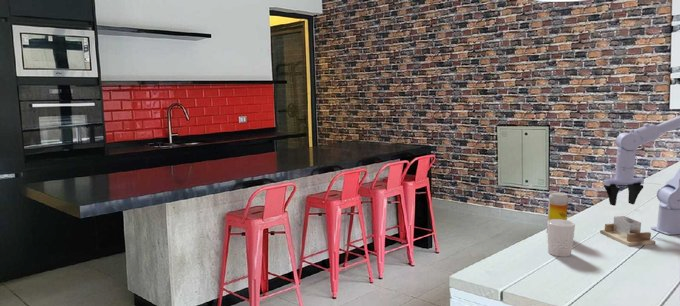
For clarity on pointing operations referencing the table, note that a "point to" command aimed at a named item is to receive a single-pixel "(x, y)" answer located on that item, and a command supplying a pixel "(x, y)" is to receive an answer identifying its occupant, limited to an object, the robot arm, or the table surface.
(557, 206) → the beer can
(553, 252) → the white cup
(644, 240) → the birch cradle
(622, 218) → the aluminium block
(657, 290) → the table surface
